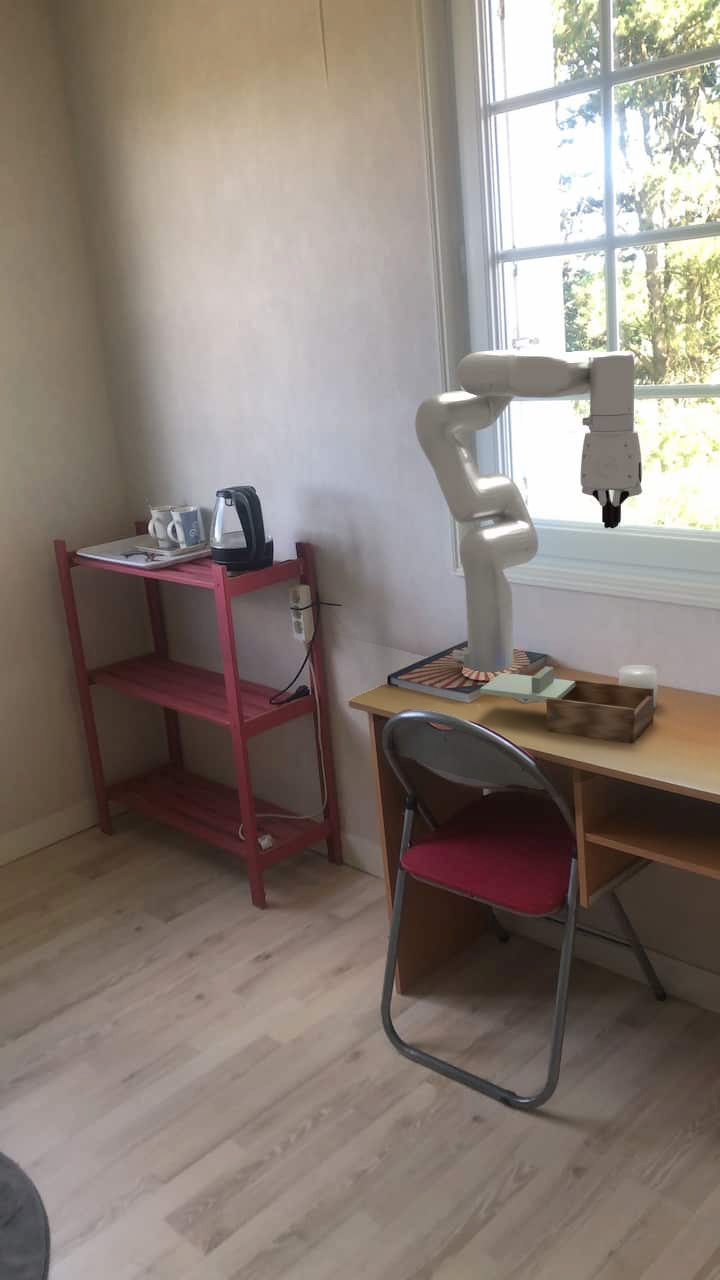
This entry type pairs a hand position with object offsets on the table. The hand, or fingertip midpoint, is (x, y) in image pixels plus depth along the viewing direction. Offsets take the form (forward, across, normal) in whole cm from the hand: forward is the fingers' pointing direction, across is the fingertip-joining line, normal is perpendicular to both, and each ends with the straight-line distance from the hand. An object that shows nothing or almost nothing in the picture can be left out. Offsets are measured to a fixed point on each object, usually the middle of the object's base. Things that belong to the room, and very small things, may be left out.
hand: (611, 526), depth 197 cm
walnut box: (+35, +1, -9) cm, 36 cm away
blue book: (+36, -16, +4) cm, 40 cm away
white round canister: (+35, +4, +4) cm, 36 cm away
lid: (+30, -13, -9) cm, 34 cm away
